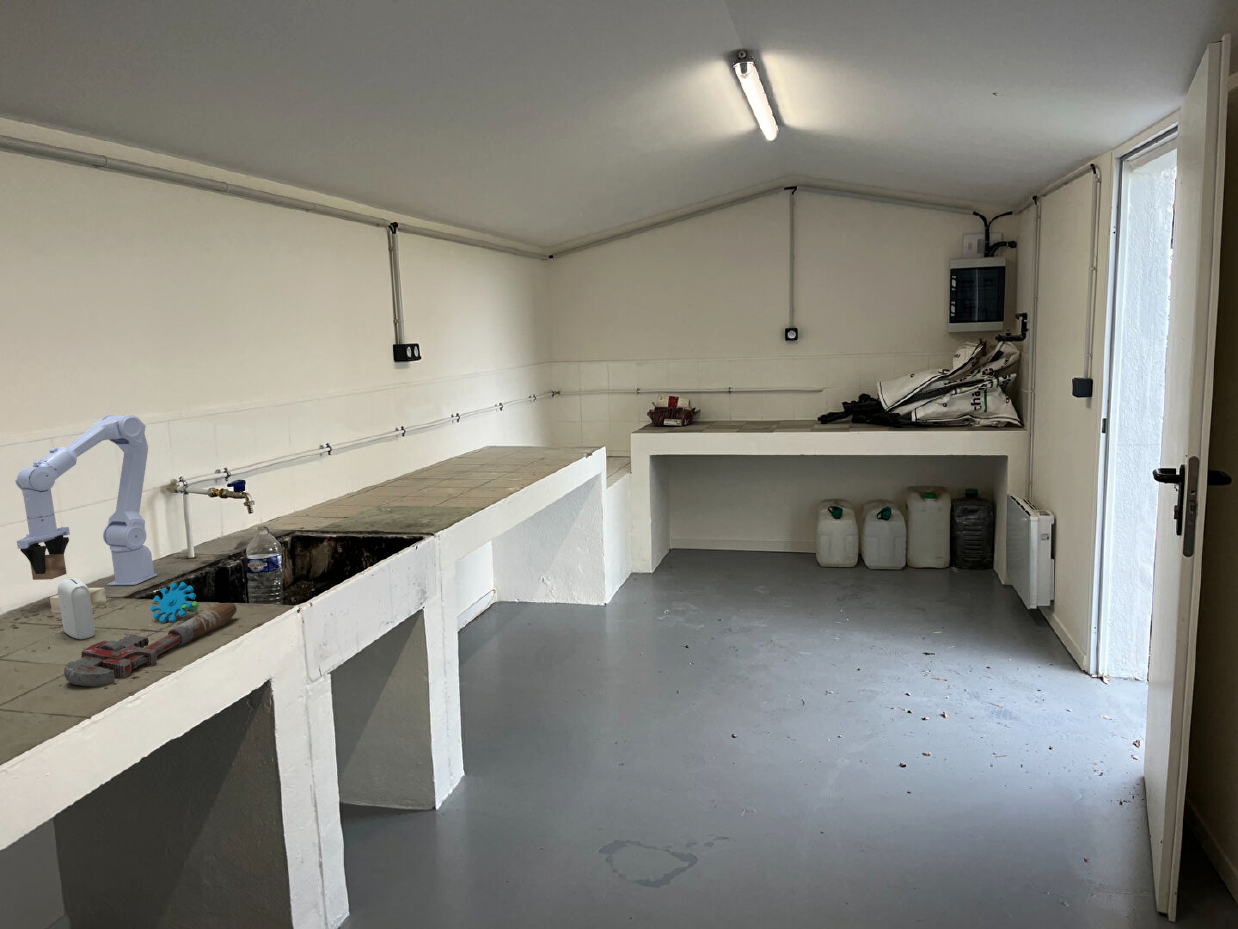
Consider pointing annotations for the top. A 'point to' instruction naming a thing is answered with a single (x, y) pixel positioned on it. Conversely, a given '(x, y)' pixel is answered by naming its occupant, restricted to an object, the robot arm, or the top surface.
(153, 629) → the top surface
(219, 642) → the top surface
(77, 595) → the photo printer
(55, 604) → the birch block
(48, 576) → the walnut cube
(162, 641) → the pipe wrench
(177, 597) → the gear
